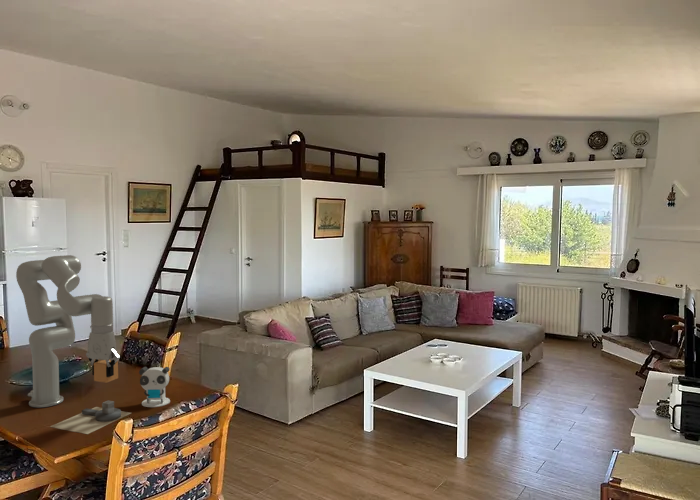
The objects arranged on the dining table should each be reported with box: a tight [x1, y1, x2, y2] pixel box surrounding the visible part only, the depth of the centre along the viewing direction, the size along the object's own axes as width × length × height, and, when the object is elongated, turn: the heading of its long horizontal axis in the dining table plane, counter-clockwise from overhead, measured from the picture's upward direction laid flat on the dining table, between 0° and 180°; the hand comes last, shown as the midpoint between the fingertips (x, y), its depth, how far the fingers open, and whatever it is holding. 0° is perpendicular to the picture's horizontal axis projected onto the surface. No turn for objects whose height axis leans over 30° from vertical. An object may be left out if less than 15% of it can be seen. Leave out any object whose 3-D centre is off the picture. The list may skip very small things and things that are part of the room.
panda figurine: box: [138, 366, 171, 408], centre depth 225 cm, size 12×11×15 cm
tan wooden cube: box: [93, 360, 119, 384], centre depth 205 cm, size 6×6×7 cm
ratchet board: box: [49, 400, 132, 435], centre depth 203 cm, size 18×22×8 cm
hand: (103, 374), depth 204 cm, fingers closed on tan wooden cube, 6 cm apart
